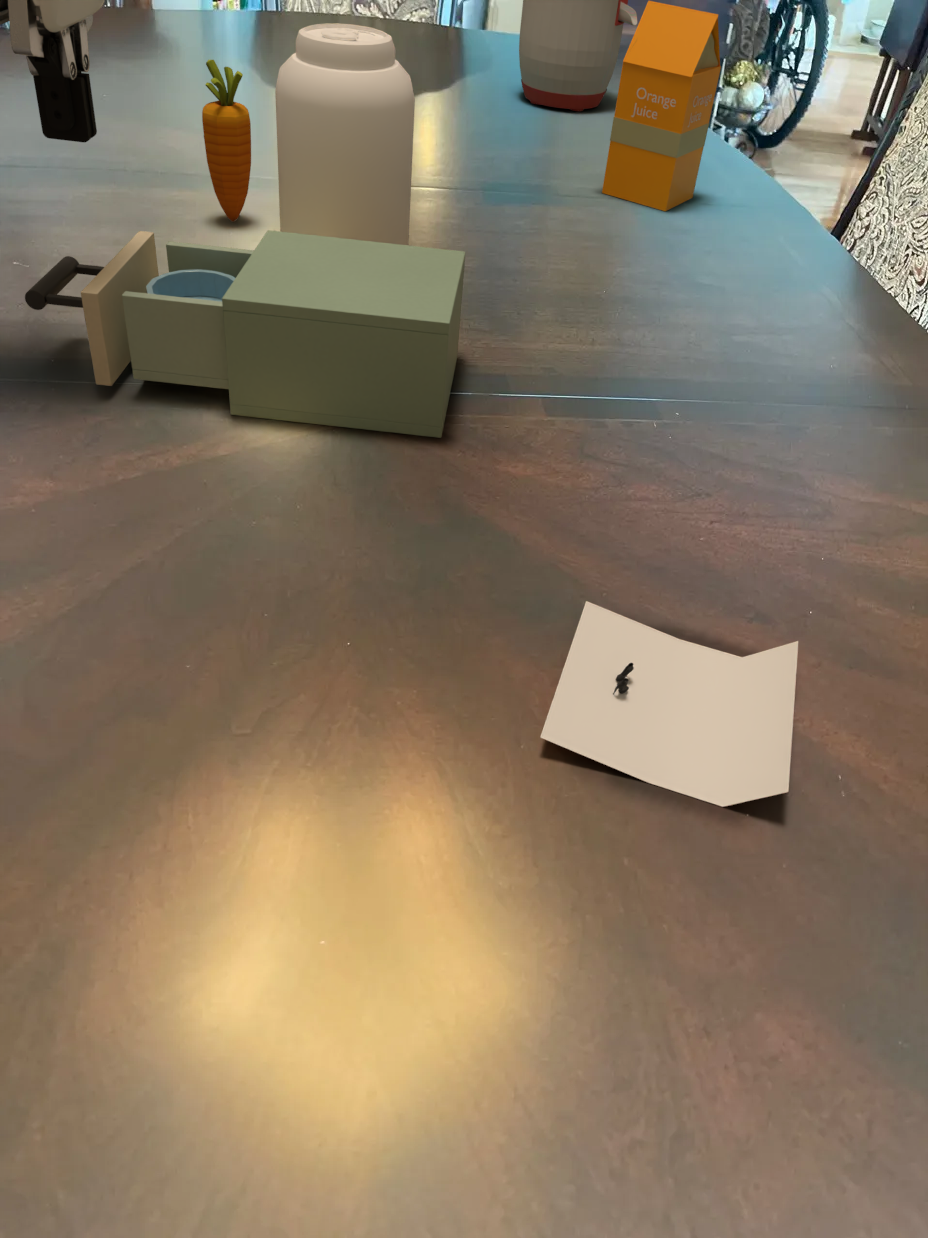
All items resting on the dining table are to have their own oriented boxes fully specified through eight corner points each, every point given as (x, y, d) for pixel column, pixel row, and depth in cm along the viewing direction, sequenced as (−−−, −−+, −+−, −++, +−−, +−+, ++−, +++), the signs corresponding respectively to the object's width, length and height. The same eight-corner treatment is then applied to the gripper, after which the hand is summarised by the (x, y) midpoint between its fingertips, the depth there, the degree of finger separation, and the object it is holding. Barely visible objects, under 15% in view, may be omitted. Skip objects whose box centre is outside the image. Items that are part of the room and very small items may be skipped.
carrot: (265, 225, 106) (257, 66, 96) (220, 232, 104) (208, 69, 94) (244, 210, 109) (235, 54, 99) (201, 216, 107) (187, 56, 97)
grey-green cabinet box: (230, 414, 76) (221, 297, 70) (272, 336, 86) (267, 229, 80) (441, 438, 75) (449, 322, 70) (457, 356, 86) (465, 251, 80)
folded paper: (583, 615, 61) (588, 589, 59) (788, 666, 59) (798, 640, 57) (536, 755, 52) (541, 729, 50) (776, 821, 50) (788, 795, 48)
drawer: (22, 376, 76) (1, 283, 71) (84, 308, 85) (70, 222, 81) (290, 405, 75) (287, 314, 71) (322, 334, 85) (321, 250, 80)
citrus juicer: (611, 123, 149) (636, -37, 136) (498, 104, 153) (513, -55, 140) (632, 101, 161) (657, -49, 148) (527, 83, 164) (543, -65, 151)
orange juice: (630, 179, 129) (663, -4, 116) (693, 197, 125) (734, 11, 112) (600, 192, 123) (631, 3, 111) (665, 211, 120) (704, 18, 107)
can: (376, 293, 95) (382, 53, 82) (257, 266, 98) (245, 29, 85) (426, 251, 104) (439, 29, 91) (316, 227, 107) (313, 9, 94)
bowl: (140, 358, 77) (133, 300, 74) (169, 319, 82) (163, 264, 79) (233, 368, 77) (229, 311, 74) (256, 329, 82) (253, 274, 79)
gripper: (9, -210, 64) (58, 104, 76) (-111, -208, 53) (-32, 162, 65) (127, -197, 64) (157, 115, 76) (31, -191, 53) (85, 175, 65)
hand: (70, 136), depth 70 cm, fingers closed
